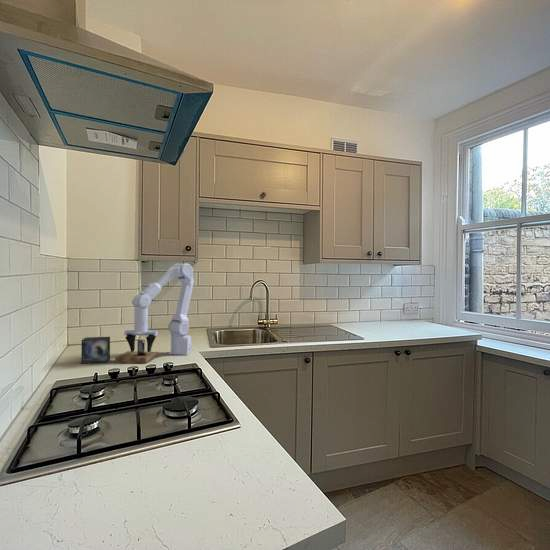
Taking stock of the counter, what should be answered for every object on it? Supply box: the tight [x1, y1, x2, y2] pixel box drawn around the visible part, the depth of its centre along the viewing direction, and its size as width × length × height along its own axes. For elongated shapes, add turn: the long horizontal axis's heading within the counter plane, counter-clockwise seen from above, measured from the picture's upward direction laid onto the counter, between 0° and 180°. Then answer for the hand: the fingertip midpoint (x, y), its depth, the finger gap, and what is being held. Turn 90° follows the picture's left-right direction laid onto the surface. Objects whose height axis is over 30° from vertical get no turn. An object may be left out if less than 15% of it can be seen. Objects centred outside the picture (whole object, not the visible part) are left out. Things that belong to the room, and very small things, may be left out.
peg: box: [136, 338, 146, 356], centre depth 157 cm, size 3×3×9 cm
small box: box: [80, 336, 111, 365], centre depth 153 cm, size 11×6×10 cm, turn 105°
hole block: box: [114, 350, 158, 364], centre depth 157 cm, size 14×11×2 cm
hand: (140, 351), depth 157 cm, fingers open, 7 cm apart
